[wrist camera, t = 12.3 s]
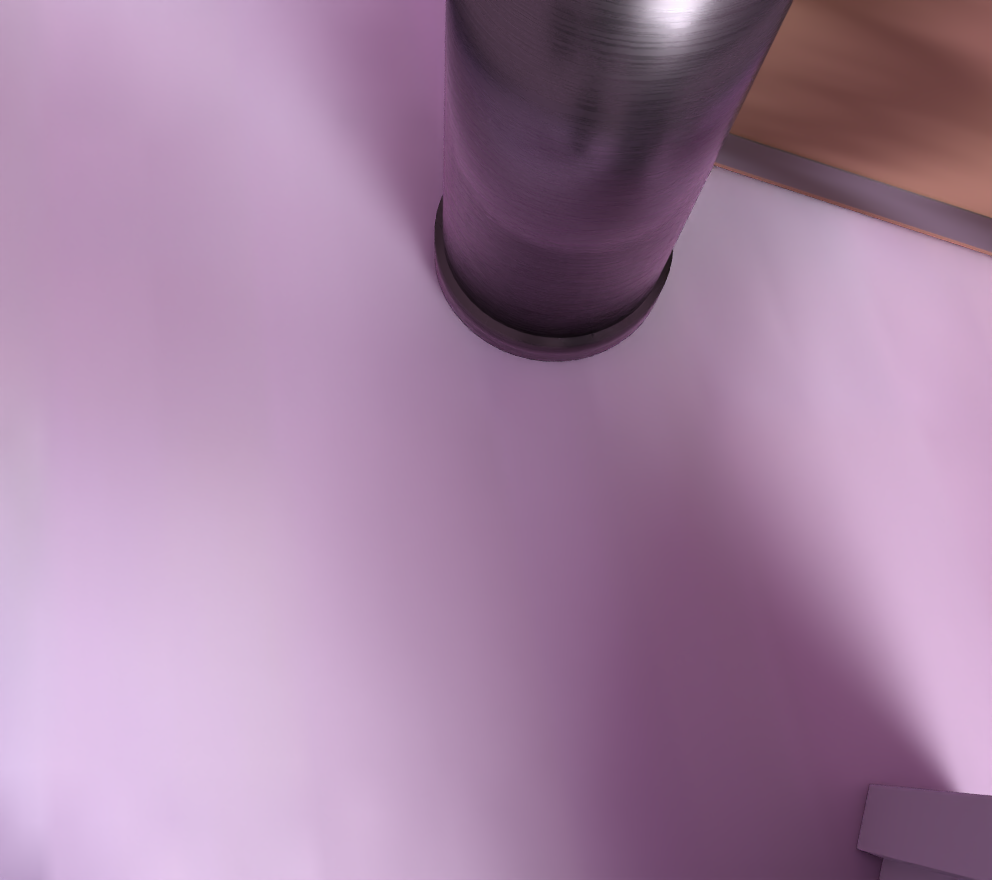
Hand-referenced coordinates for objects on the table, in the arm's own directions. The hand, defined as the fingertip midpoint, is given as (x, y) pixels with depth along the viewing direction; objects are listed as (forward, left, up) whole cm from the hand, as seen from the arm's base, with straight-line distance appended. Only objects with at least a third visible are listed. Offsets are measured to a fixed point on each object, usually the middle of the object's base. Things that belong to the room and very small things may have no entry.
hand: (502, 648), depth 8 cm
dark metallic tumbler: (+11, +2, -14) cm, 18 cm away
